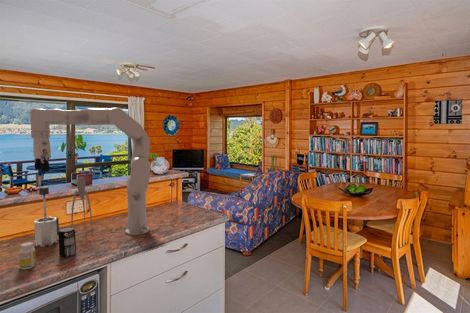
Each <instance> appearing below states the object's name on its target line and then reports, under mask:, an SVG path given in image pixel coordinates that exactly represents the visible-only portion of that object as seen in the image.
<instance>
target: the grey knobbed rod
mask: <svg viewBox="0 0 470 313" xmlns="http://www.w3.org/2000/svg"><path fill="white" fill-rule="evenodd" d="M49 190H50V189H49V186H43V187H42V186H41V187H39V188H38V195H40V196H42V198H43V199H42V201H43V218H44V221H40V222H48V221H52V220H46V217H47V206H46V195H49V194H50V192H49Z"/></svg>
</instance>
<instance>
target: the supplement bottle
mask: <svg viewBox="0 0 470 313" xmlns="http://www.w3.org/2000/svg"><path fill="white" fill-rule="evenodd" d="M20 248H21V249H20V250H19V251H18V252H19V268H20V269H21V270H29V269H33V268H34V267H35V266H36V265H37V262H36V257H37V256H36V248H35V247H34V243H33V242H32V241H29V242H28V241H27V242H24V243H22V244H21V246H20Z"/></svg>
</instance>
